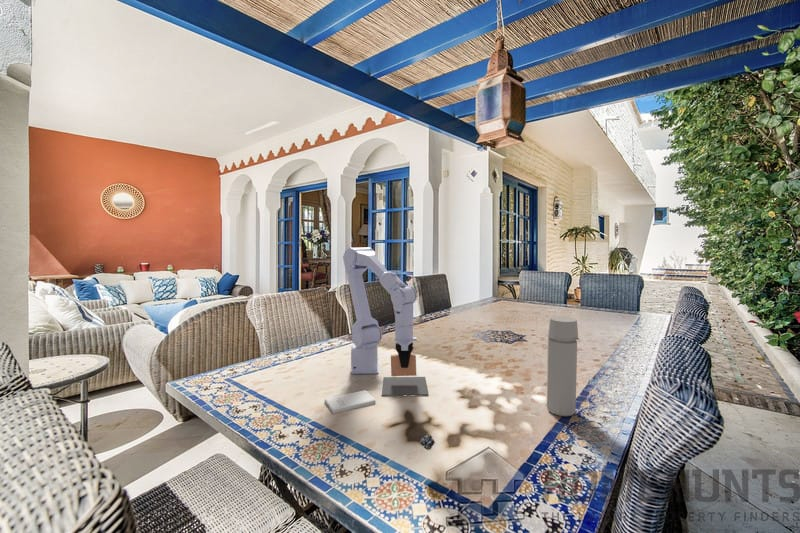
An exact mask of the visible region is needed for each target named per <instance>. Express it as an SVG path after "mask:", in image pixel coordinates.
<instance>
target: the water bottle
mask: <svg viewBox="0 0 800 533" xmlns="http://www.w3.org/2000/svg"><path fill="white" fill-rule="evenodd" d="M545 336H546V337H547V366H546V367H547V368H546V369H547V371H546V375H547V376H546V409H547V410H548V412H550V413H551V414H553V415H556V416H560V417H570V416H573V415H574V414H575V413H577V412H576V411H577V369H578V368H577V366H578V363H577V362H578V340H580V337H579V329H578V320H577V319H576V318H573V317H569V316H552V317H549V323H548V332H547V334H546V335H545Z"/></svg>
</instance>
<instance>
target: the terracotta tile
mask: <svg viewBox="0 0 800 533" xmlns="http://www.w3.org/2000/svg"><path fill="white" fill-rule="evenodd" d="M390 370H391V371H390V372H391V373H390V374H391V376H390V377H417V354H416V353H411V355H410V359H409V365H408V368H401V364H400V359H399V355H398V354H390Z"/></svg>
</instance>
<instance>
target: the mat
mask: <svg viewBox="0 0 800 533" xmlns="http://www.w3.org/2000/svg"><path fill="white" fill-rule="evenodd" d="M404 395H429V390H428V384H427V378H426V376H383V378H382V389H381V397H405V396H404Z"/></svg>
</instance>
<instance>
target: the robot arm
mask: <svg viewBox="0 0 800 533" xmlns="http://www.w3.org/2000/svg"><path fill="white" fill-rule="evenodd" d="M376 253H377V252H376V251H375V250H374V249H373V248H372V247H370V246H367V247H366V246H365V247H347V248H346V249H345V251H344V253H343V256H342V259H343V264H344V269H345V273H346V276H347V281H348V286H349V289H350V295H351V300H352V304H353V308H354V313H355V318H356V320H355V322H354V323H353V325H351V340H352V342H353V345H352V346H351V349H350V350H351V351H350V369H351V370H350V373H351V375H352V374H353V375H357V374H358V375H359V374H360V375H361V374H362V375H364V374H367V375H368V374H369V375H370V374H379V370H380V364H378V363H379V362H378V361H379V360H378V356H379V355H378V352H379V351H378V346H379V345H380V342H381V341H382V338H383V331H382V329H381V327H380V326H379V322H378V320H377V319H375V318H373V317H372V313H371V309H370V304H369V300H368V297H367V296H368V295H367V291H366V286H365V283H364V282H365V281H364V277H363V274H364V272H365V271H367V270H371V271H372V273H374V274H375V275H376V276H377V278H379V284H380V285H381V286H382V287H383V288H384V290H385V291H386V292H387V293H388V294H389V295H390V300H391V303H392V305H393V306H392V307H393V310H394V324H395V325H394V330H395V332H394V334H395V335H394V341H395V342H396V343H395V350H396V352H397V355H399V359H400V364H401V368H408V365H409V359H410V355H411V354H412V352H413V350H414V341H415V342H417V340H418V338H417V336H415V337H414V303H415V302H416V301H417V298H418V297H417V296H418V295H417V291H416V289H415V288H414V286H412V285H407V284H406V283H405V282H404V281H402V280H401V278H399V276H398V274H397V273H396V272H395V271H388V269H387V268H386V267H385V266H384V265H383V264H382V263H381V261H380V260H379V259H378V257H377V254H376Z"/></svg>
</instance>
